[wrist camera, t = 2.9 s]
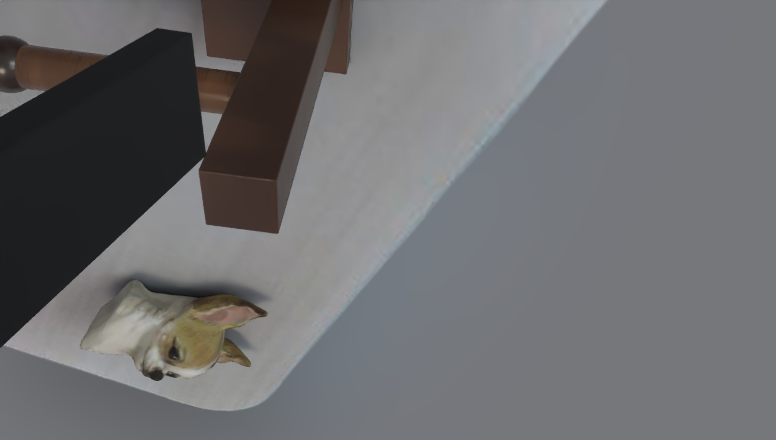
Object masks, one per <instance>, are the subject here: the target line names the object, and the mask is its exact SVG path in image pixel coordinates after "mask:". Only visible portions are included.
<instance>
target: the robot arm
mask: <svg viewBox="0 0 776 440" xmlns="http://www.w3.org/2000/svg"><path fill="white" fill-rule="evenodd" d="M205 156H206V151H205V142H204V134H203V125H202V117H201V109H200V100H199V92H198V83H197V75H196V66H195V58H194V49H193V41H192V33H187V32H180V31H173V30H166V29H159V28H157V29H155V30H153V31H151V32H150V33H148V34H146V35H144V36H143V37H141V38H139V39H137V40H135V41H134V42H132V43H130V44H128V45H127V46H125V47H123V48H121V49H120V50H118V51H116V52H114V53H113V54H111V55H109V56H107V57H105V58H104V59H102V60H100V61H98V62H97V63H95V64H93V65H91V66H90V67H88V68H86V69H84V70H82V71H81V72H79V73H77V74H75V75H74V76H72V77H70V78H68V79H67V80H65V81H63V82H61V83H60V84H58V85H56V86H54V87H52V88H51V89H49V90H47V91H45V92H44V93H42V94H40V95H38V96H37V97H35V98H33V99H31V100H29V101H28V102H26V103H24V104H22V105H21V106H19V107H17V108H15V109H14V110H12V111H10V112H8V113H7V114H5V115H3V116H1V117H0V348H1V347H2V346H3V345H4V344H5V343H6V342H7V341H8V340H9V339H10V338H11V337H12V336H14V335H15V334H16V333H17V332H18V331H19V330H20V329H21V328H22V327H23V326H24V325H25V324H26V323H27V322H28V321H30V320H31V319H32V318H33V317H34V316H35V315H36V314H37V313H38V312H39V311H40V310H41V309H42V308H43V307H44V306H46V305H47V304H48V303H49V302H50V301H51V300H52V299H53V298H54V297H55V296H56V295H57V294H58V293H59V292H61V291H62V290H63V289H64V288H65V287H66V286H67V285H68V284H69V283H70V282H71V281H72V280H73V279H74V278H75V277H77V276H78V275H79V274H80V273H81V272H82V271H83V270H84V269H85V268H86V267H87V266H88V265H89V264H90V263H91V262H93V261H94V260H95V259H96V258H97V257H98V256H99V255H100V254H101V253H102V252H103V251H104V250H105V249H106V248H108V247H109V246H110V245H111V244H112V243H113V242H114V241H115V240H116V239H117V238H118V237H119V236H120V235H121V234H122V233H124V232H125V231H126V230H127V229H128V228H129V227H130V226H131V225H132V224H133V223H134V222H135V221H136V220H137V219H138V218H140V217H141V216H142V215H143V214H144V213H145V212H146V211H147V210H148V209H149V208H150V207H151V206H152V205H153V204H155V203H156V202H157V201H158V200H159V199H160V198H161V197H162V196H163V195H164V194H165V193H166V192H167V191H168V190H169V189H171V188H172V187H173V186H174V185H175V184H176V183H177V182H178V181H179V180H180V179H181V178H182V177H183V176H184V175H185V174H187V173H188V172H189V171H190V170H191V169H192V168H193V167H194V166H195V165H196V164H197V163H198V162H199V161H200V160H202V159H203V158H204V157H205Z"/></svg>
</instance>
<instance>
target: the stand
mask: <svg viewBox="0 0 776 440" xmlns="http://www.w3.org/2000/svg"><path fill="white" fill-rule="evenodd" d="M201 4H202V13H203V22H204V31H205V40H206V49H207V56H210V57H218V58H226V59H233V60H241V61H246V62H245V64H244V66H243V68H242V71H241V73H240V72H233V71H225V70H217V69H210V68H202V67H196V75H197V83H198V92H199V100H200V109H201V111H202V112H209V113H217V114H223V115H222V117H221V120H220V122H219V124H218V127H217V129H216V131H215V134H214V136H213V138H212V141H211V143H210V145H209V148H208V150H207V152H206V156H205V157H204V159H203V161H202V164H201V166H200V168H199V177H200V184H201V192H202V199H203V206H204V213H205V220H206V224H207V225H213V226H221V227H229V228H236V229H244V230H252V231H260V232H267V233H275V234H278V233H279V229H280V226H281V222H282V219H283V215H284V212H285V208H286V205H287V201H288V197H289V194H290V190H291V187H292V183H293V180H294V176H295V173H296V169H297V165H298V162H299V158H300V155H301V151H302V148H303V144H304V141H305V137H306V133H307V130H308V126H309V123H310V119H311V116H312V112H313V109H314V105H315V101H316V98H317V94H318V91H319V87H320V84H321V80H322V77H323V73H324V71H326V72H333V73H341V74H346V73H347V69H348V65H349V60H350V43H351V26H352V9H353V0H201ZM107 56H109V55H102V54H94V53H87V52H79V51H71V50H63V49H56V48H48V47H40V46H33V45H29V44H28V43H26V42H25V41H23V40H21V39H19V38H17V37H13V36H5V35H4V36H0V91H1V92H6V93H17V92H21V91H24V90H26V89H32V90H40V91H47V90H49V89H51V88H52V87H54V86H56V85H58V84H60V83H61V82H63V81H65V80H67V79H68V78H70V77H72V76H74V75H75V74H77V73H79V72H81V71H82V70H84V69H86V68H88V67H90V66H91V65H93V64H95V63H97V62H98V61H100V60H102V59H104V58H105V57H107Z"/></svg>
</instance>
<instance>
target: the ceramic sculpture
mask: <svg viewBox="0 0 776 440" xmlns="http://www.w3.org/2000/svg"><path fill="white" fill-rule="evenodd" d="M265 316H268V313H267V312H266V311H264V310H263V309H261V308H259V307H257V306H256V305H254V304H252V303H250V302H248V301H246V300H244V299H241V298H238V297H235V296H233V295H229V294H222V295H215V296H209V297H201V298H194V297H187V296H177V295H168V294H161V293H153V292H150V291H148V290H147V289H146V288H145V287H144V285H143V284H142V282H140V281H138V280H132V281H130V282H128V283H127V284H126V285H125V286H124V287H123V289H122V290H121V291H120V292H119V293H118V294H117V295H116V296H115V297H114V298H113V299H112V300H111V301H109V302H108V303H107V304H105V305H104V306H103V307H102V308H101V309H100V310H99V312H98V313H97V315H96V317H95V318H94V320H93V322H92V324H91V325H90V327H89V329H88V331H87V333H86V334H85V336H84V338H83V339H82V341H81V344H80V348H81V349H83V350H92V351H94V352H98V353H101V354H126V355H130V356H132V358H133V360H134V363H135V366H136V368H137V370H139V371H141V372H142V373H143V375H144V376H146V377H149V378H151V379H152V380H155V381H159V380H161V379H162V378H163V377H164V376H165V375H167V376H170V377H174V378H177V377H183V378H186V379H189V378H194V377H196V376H199V375H201V374H203V373H205V372H207V371H208V370H209V369H211V368H212V367H213V366H214V365H215V364H216V363H217V362H218V363H226V362H230V361H232V362H236V363H238V364H240V365H242V366H246V367H250V366H251V363H250V361H249V359H248V358H247V357H246V356H245V355H244V354H243V352H242V351H241V350H240V349H239V348H238V347H237V346H236V345H235V344H234V343H233V342H232V341H230V340H229V339H227V338H225V329H230V328H235V327H240V326H242V325H244V324H245V323H247V322H249V321H251V320H252V319H255V318H258V317H265Z"/></svg>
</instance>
